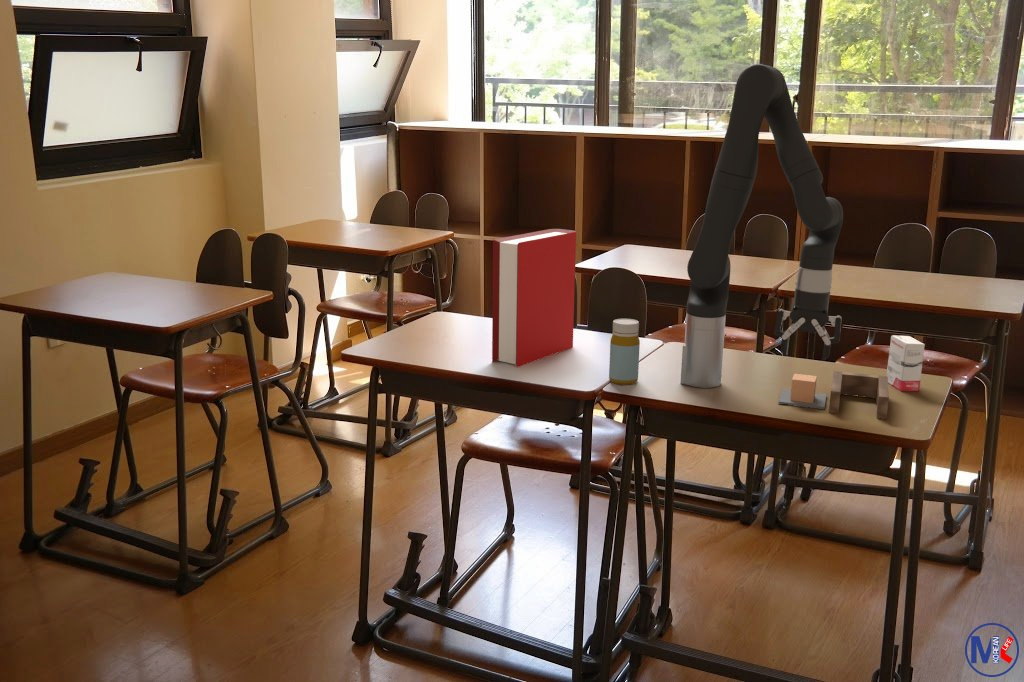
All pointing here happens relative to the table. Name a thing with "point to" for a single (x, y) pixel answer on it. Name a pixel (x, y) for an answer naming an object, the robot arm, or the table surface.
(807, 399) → the cube
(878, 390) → the cubby
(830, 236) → the robot arm
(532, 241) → the book
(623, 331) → the bottle
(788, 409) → the table surface
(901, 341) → the ink box
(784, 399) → the pad
